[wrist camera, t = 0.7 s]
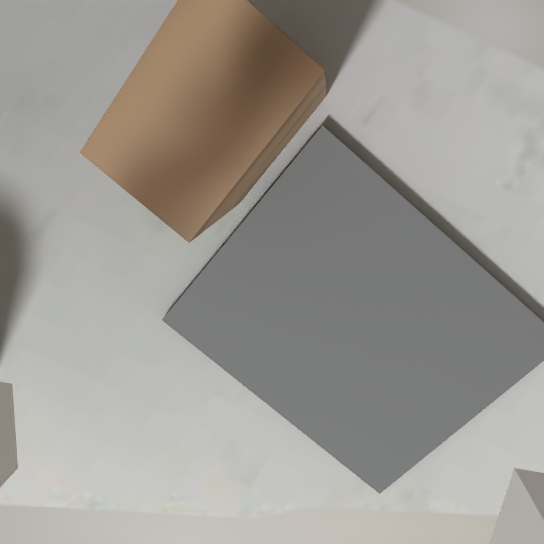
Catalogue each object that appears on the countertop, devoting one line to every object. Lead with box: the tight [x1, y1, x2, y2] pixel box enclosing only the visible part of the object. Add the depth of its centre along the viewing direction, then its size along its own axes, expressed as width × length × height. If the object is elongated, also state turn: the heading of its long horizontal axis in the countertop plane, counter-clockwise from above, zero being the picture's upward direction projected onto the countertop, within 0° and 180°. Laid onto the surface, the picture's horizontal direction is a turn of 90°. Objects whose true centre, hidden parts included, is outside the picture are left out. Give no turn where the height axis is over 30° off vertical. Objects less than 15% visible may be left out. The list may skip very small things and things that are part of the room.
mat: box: [162, 125, 544, 493], centre depth 33 cm, size 22×18×1 cm
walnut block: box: [80, 0, 327, 242], centre depth 24 cm, size 6×9×12 cm, turn 140°
